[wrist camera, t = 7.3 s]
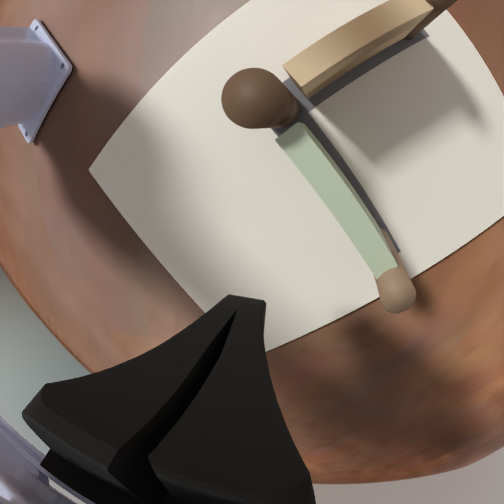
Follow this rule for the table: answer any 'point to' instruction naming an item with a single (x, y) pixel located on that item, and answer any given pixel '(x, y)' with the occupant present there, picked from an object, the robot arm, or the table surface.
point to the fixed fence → (324, 62)
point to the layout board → (289, 176)
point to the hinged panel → (351, 216)
